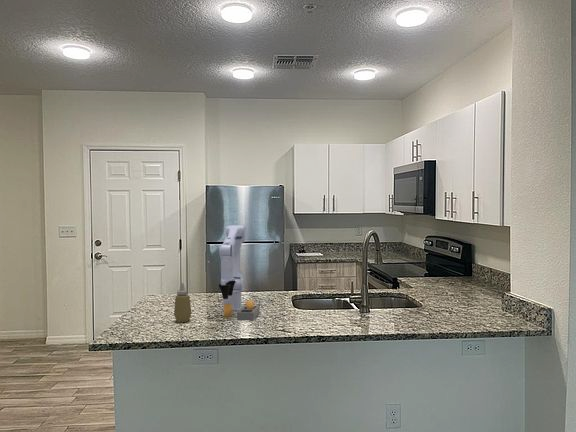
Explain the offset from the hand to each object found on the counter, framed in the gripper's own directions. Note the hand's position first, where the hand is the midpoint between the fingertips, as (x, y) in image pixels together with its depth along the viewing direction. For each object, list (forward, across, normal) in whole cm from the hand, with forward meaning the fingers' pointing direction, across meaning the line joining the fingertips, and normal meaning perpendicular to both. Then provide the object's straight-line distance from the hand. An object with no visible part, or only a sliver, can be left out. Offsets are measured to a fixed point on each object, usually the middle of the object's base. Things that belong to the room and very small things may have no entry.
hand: (227, 297), depth 221 cm
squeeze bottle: (+10, -10, +19) cm, 24 cm away
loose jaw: (+9, 0, 0) cm, 9 cm away
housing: (+9, +1, -10) cm, 14 cm away
